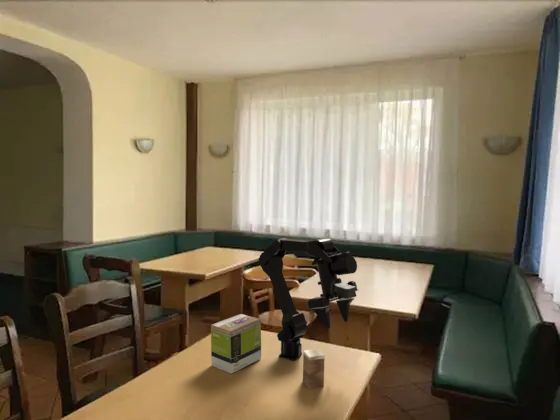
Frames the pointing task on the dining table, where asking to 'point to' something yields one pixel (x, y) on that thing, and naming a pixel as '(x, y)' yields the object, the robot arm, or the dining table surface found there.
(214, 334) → the tea box
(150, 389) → the dining table surface
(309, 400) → the dining table surface
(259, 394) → the dining table surface
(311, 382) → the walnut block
